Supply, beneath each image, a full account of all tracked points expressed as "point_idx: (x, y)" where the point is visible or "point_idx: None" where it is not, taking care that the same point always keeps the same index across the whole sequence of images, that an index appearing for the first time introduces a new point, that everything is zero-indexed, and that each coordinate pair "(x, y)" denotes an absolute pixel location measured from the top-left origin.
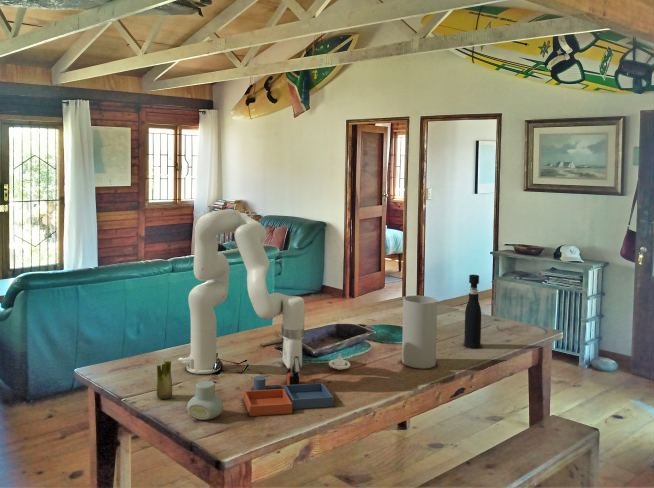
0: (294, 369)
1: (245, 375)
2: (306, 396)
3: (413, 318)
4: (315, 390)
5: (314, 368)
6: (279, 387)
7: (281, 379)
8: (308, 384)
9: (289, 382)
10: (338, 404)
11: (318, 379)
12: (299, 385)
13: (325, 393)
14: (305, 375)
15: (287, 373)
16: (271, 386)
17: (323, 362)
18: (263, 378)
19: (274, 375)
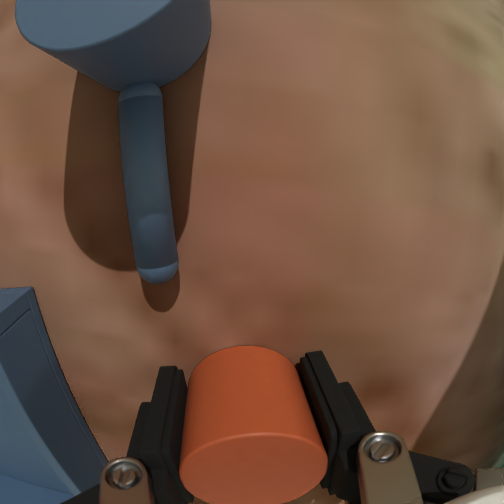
0: (346, 499)
1: (492, 15)
2: (12, 421)
3: None
4: None
5: (468, 459)
6: (136, 263)
7: (408, 302)
8: (74, 495)
9: (196, 392)
10: None
11: (330, 501)
12: (41, 447)
13: (41, 500)
14: (414, 448)
15: (280, 439)
16: (125, 163)
17: (494, 466)
18: (61, 20)
19: (490, 247)
